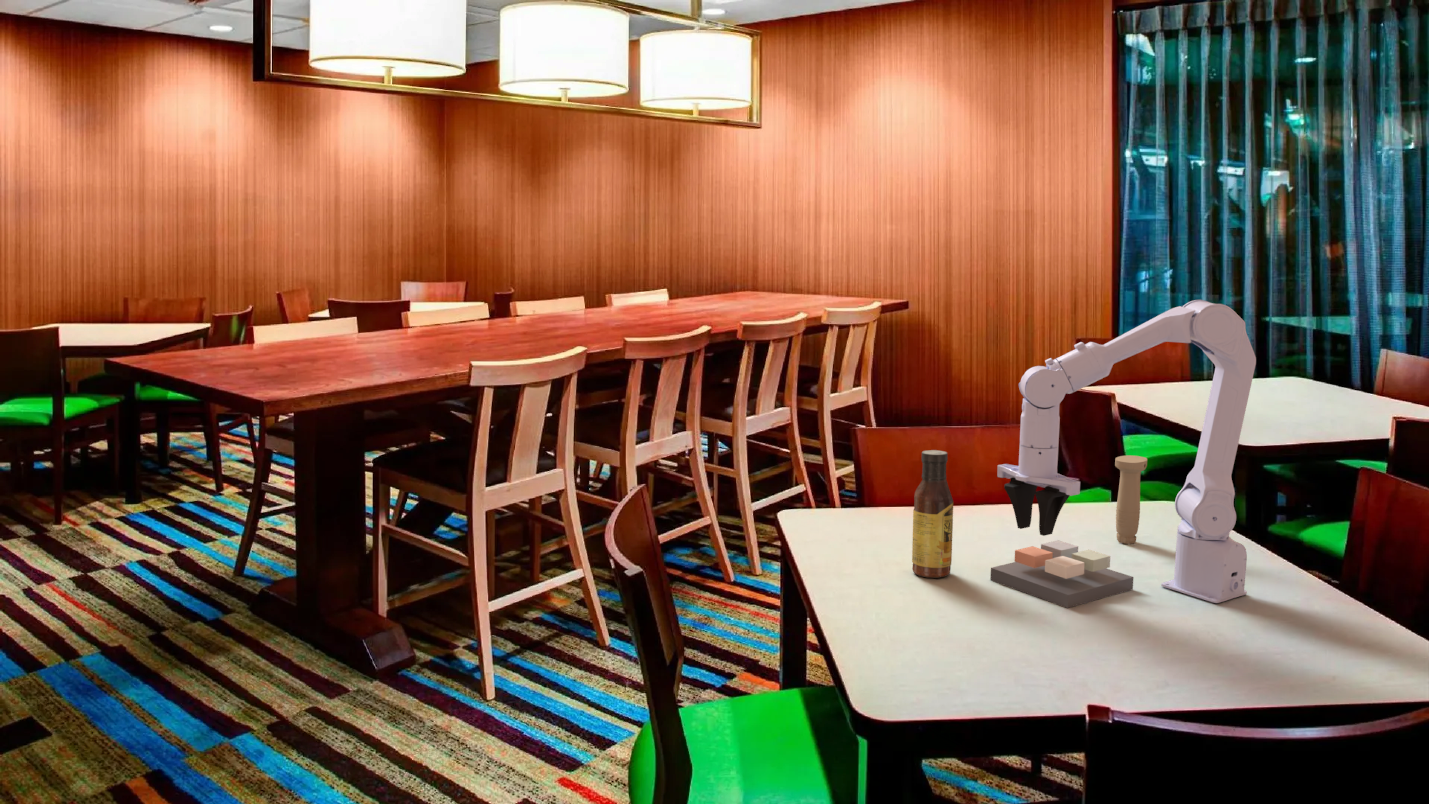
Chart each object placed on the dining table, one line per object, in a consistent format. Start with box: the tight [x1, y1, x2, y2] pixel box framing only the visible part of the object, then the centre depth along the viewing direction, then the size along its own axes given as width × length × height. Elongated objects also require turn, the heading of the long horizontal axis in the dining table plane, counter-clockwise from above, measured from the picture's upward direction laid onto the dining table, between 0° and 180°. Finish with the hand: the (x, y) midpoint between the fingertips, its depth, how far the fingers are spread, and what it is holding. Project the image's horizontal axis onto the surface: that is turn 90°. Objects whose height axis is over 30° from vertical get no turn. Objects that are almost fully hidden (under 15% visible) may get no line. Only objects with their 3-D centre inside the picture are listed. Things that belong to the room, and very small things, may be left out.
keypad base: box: [989, 561, 1134, 609], centre depth 167 cm, size 15×15×2 cm
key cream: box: [1045, 556, 1085, 579], centre depth 162 cm, size 4×4×2 cm
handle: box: [1114, 454, 1148, 545], centre depth 188 cm, size 5×6×15 cm
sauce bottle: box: [911, 449, 954, 579], centre depth 171 cm, size 7×6×20 cm
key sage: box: [1072, 549, 1111, 572], centre depth 165 cm, size 4×4×2 cm
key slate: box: [1040, 539, 1079, 558], centre depth 170 cm, size 4×4×2 cm
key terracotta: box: [1014, 545, 1053, 568], centre depth 167 cm, size 4×4×2 cm
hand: (1034, 530), depth 167 cm, fingers open, 4 cm apart
